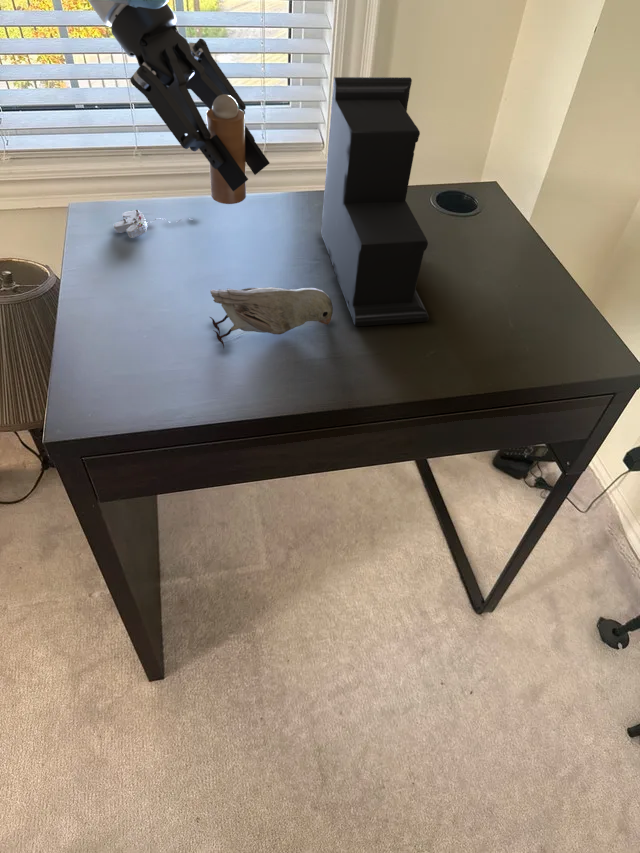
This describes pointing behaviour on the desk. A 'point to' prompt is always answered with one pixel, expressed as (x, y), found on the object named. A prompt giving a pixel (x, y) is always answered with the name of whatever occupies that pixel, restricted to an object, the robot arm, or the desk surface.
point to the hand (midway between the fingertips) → (251, 176)
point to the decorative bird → (272, 308)
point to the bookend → (373, 201)
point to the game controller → (132, 224)
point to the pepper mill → (227, 145)
